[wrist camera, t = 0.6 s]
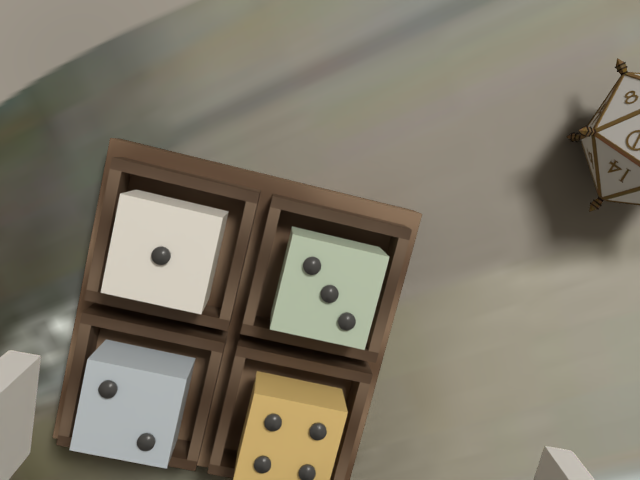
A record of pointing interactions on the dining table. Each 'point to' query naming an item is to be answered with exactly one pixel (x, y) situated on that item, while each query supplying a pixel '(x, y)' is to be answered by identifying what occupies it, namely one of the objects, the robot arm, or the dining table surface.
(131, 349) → the button two
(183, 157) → the wooden compartment tray
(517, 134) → the dining table surface
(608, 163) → the game die
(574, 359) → the dining table surface
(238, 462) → the button four
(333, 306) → the button three
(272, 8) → the dining table surface
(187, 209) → the button one
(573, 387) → the dining table surface
